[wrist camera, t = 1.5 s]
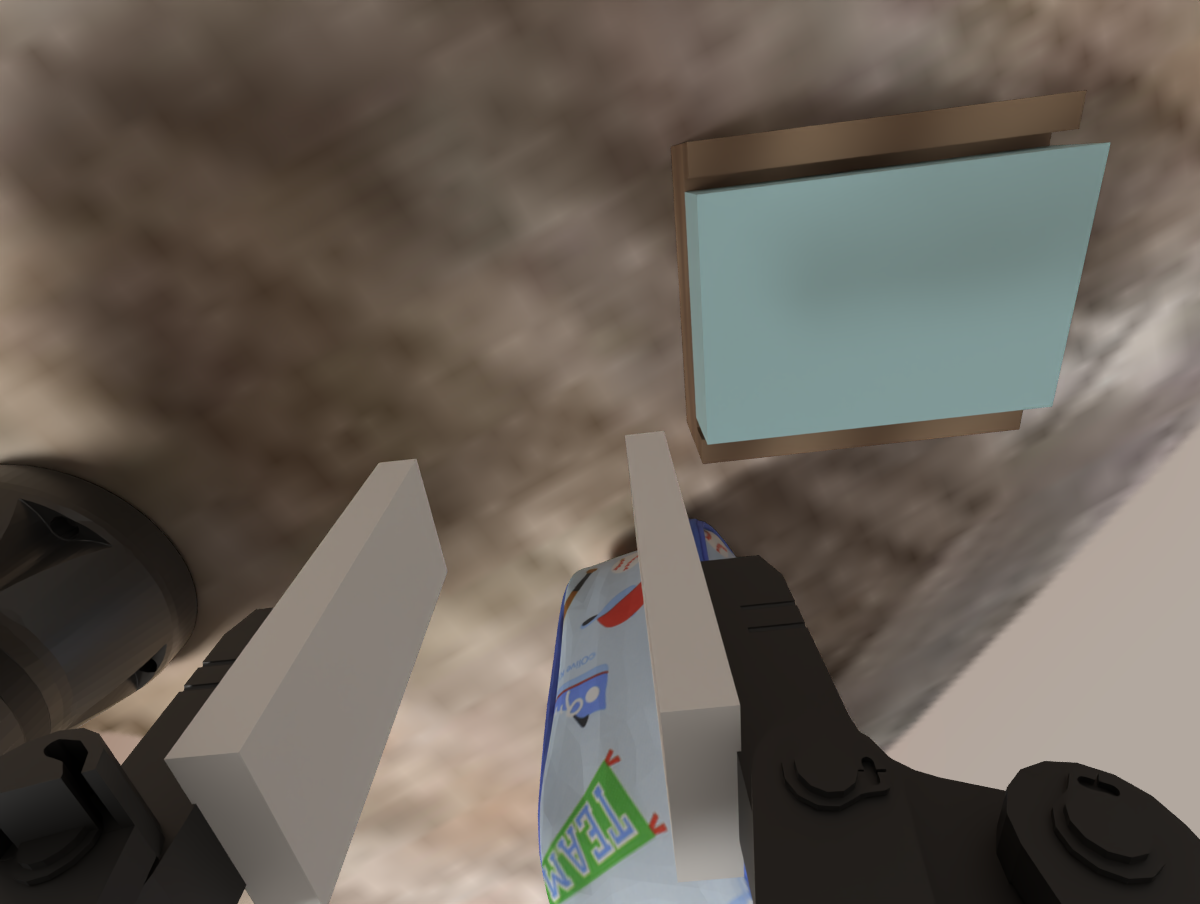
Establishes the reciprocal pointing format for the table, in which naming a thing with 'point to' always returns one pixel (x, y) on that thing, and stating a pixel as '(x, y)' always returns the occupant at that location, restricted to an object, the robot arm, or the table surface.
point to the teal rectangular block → (887, 291)
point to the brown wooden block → (840, 153)
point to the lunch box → (612, 751)
